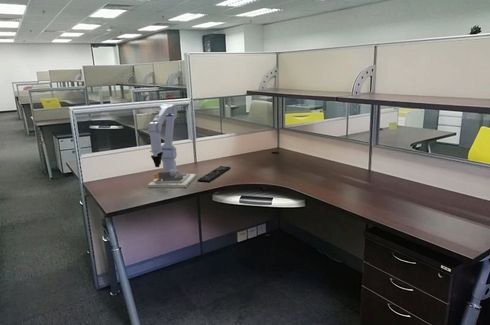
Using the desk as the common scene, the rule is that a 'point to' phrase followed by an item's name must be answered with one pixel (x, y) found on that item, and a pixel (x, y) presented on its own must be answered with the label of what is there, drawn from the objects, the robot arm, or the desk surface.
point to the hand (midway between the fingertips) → (158, 165)
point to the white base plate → (173, 182)
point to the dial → (168, 176)
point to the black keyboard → (213, 174)
